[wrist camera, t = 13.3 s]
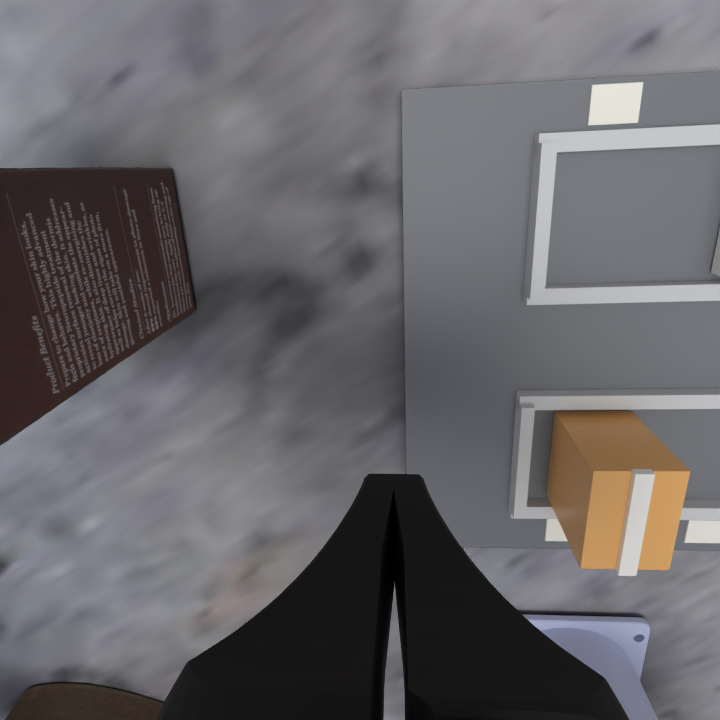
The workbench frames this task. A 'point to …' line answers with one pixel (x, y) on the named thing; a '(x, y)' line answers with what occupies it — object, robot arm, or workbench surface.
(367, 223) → the workbench surface
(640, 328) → the plate
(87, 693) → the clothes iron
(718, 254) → the fader white
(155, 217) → the box
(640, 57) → the workbench surface
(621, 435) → the fader orange
